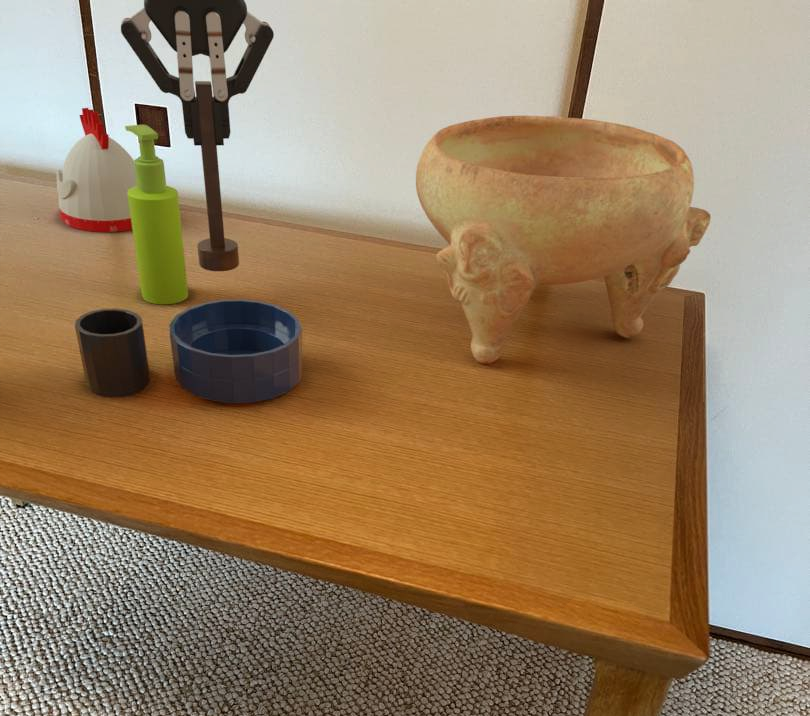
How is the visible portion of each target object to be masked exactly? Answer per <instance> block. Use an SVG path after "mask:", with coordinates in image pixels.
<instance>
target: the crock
mask: <svg viewBox="0 0 810 716" xmlns="http://www.w3.org/2000/svg"><path fill="white" fill-rule="evenodd" d="M74 322H75V323H74V329H75V334H76V340H77V344H78V349H79V354H80V358H81V359H80V360H81V365H82V368H83V369H82V370H83V372H84V378H85V382H86V385H87V388H88V389H89V390H90V391H91V392H92V393H93V394H96V395H98V396H102V397H108V398H109V397H110V398H119V397H128V396H131V395H136V394H137V393H141V392H143V391H144V390H145V389H147V387H149V385H150V384H151V371H150V366H149V359H148V352H147V351H148V350H147V343H146V338H145V337H146V336H145V330H144V322H143V317H141V315H139V314H138V313H137V312H135V311H131V310H129V309H123V308H116V307H115V308H100V309H95V310H91V311H89V312H86V313H83V314H81V315H80V316H79V317H78V318H76V320H75V321H74Z"/></svg>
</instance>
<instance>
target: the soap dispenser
mask: <svg viewBox="0 0 810 716" xmlns="http://www.w3.org/2000/svg"><path fill="white" fill-rule="evenodd" d="M124 129H125V131H126V132H131V133H132V134H134V135H135V136H137V138H138V145H139V154H140V156H138V157H137V158H135V159H133V160H134V165H135V173H136V180H137V186H135V187H133V188H130V189H129V190H128V192H127V194H128V201H129V208H130V215H131V222H132V235H133V243H134V249H135V256H136V263H137V270H138V271H137V272H138V279H139V285H140V292H141V298H142V299H143V300H144V301H146V302H147V303H149V304H154V305H174V304H178V303H182V302H184V301H185V300H186V299H187V298H188V297H189V288H188V287H189V286H188V279H187V268H186V260H185V259H186V258H185V249H184V240H183V230H182V229H183V228H182V221H181V211H180V203H179V202H180V201H179V192H178V190H177V189H176V188H175V187H172V186H170V185H167V178H166V171H165V169H166V168H165V163H164V159H162V158H160V157H159V156H157V155H156V146H155V140H159V134H158V132H157V131H155V130H154V129H153V128H151V126H149V125H147V124H134V125H132V124H131V125H125V126H124Z"/></svg>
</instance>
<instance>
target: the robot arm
mask: <svg viewBox="0 0 810 716" xmlns="http://www.w3.org/2000/svg"><path fill="white" fill-rule="evenodd" d="M247 6H248V5H247V3H246V1H245V0H143V8H142V9H140V10H139V11H137V12H136V13H134V14H133V15H132V16H131V17H125V18H123V20H122V21H121V24H120V34H121V35H122V37H123V38H124V39H125V41H126V42H127V44H128V45H129V47H130V48H131V50H132V51H133V52H134V54H135V55H136V56H137V58H138V60H139V61H140V63H141V64H142V65H143V67H144V68H145V70H146V71H147V72H148V74H149V75H150V77H151V78H152V80H153V82H155V85H156V86H157V87H158V89H159V90H160V91H161V92H162V93H164V94H170V95H174V96H175V97H177V98H178V99H179V101H180V102H181V109H182V115H183V126H184V133H185V136H186V137H187V139H191V140H192V139H193V146H195V147H196V146H201V145H202V142H201V131H200V120H199V110H198V101H197V99H196V90H195V82H194V69H193V68H194V66H193V57H196V56H198V55H203V56H206V57H208V59H209V60H208V61H209V68H210V77H211V85H212V95H213V96H212V97H213V112H214V124H215V135H216V145H217V146H225V142H224V139H226V140H227V139H230V136H231V121H230V107H229V102H230V100H231V98H233V97H234V96H237V95H240V94H241V95H243V94H246V92H247V91H248V89H249V87H250V85H251V83H252V81H253V80H254V77H255V76H256V73H257V71H258V69H259V67H260V65H261V63H262V61H263V59H264V57H265V55H266V54H267V51H268V50H269V48H270V45H271V43H272V42H273V40H274V35H275V33H274V30H273V29H272V27H271V25H270V24H269V23H268V22H267V21H261V20H260V19H258V18H257V17H256V16H254V15H253V14H252V13H250V12H249V11H248V7H247ZM150 22H152V24H153V25H154V26H155V27H156V29H157V30H158V32H159V33H160V34H161V36H162V37H163V38H164V40H165V42H166V43H167V44H168V45H169V46H170V48H171V49H172V50H173V51H174V52H175V53H176V58H177V59H176V60H177V71H178V72H177V73H178V76H176V75H173V74H171V73H170V72H169V71H168V69H167V67H166V66H165V64H164V63H163V62H162V60H161V58H159V56H158V54H157V53H156V51H155V50H154V48H153V47H152V45H151V44H150V41H151V40H152V31H151V29H150ZM242 25H244V27H245V30H244V35H243V36H244V41H245V42H246V44H247V47H246V48H245V51H244V52H243V55H242V57H241V59H240V61H239V63H238V65H237V67H236V69H235V71H234V73H233V75H231V76H229V77H227V72H226V71H227V69H226V62H225V53H226V52H227V51H228V49H229V48H230V46H231V44H232V43H233V41H234V40H235V38H236V36H237V34H238V33H239V31H240V29H241V27H242Z"/></svg>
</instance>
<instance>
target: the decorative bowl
mask: <svg viewBox="0 0 810 716" xmlns="http://www.w3.org/2000/svg"><path fill="white" fill-rule="evenodd" d="M694 188H695V176H694V169H693V164H692V163H691V161H690V158H689V156H688V154H687V153H686V152H685V150H684V149H683V148H682V147H681V146H680V145H678V144H677V143H676V142H674V140H673V141H672V140H670V139H668V138H665V137H664V136H661V135H658V134H656V133H653V132H650V131H646V130H644V129H641V128H637V127H634V126H629V125H625V124H620V123H617V122H609V121H603V120H596V119H587V118H579V117H578V118H577V117H564V116H563V117H562V116H553V115H552V116H551V115H549V116H548V115H545V116H544V115H501V116H493V117H486V118H480V119H473V120H467V121H463V122H459V123H453V124H452V125H448V126H446V127H443V128H441V129H439V130H438V131H437V132H435V134H433V135H432V137H431V138H430V139H429V140H428V142H427V143H426V145H425V146H424V148H423V149H422V151H421V153H420V156H419V158H418V160H417V165H416V171H415V189H416V195H417V197H418V201H419V203H420V207H421V208H422V210H423V212H424V214H425V215H426V217H427V219H428V220H429V222H430V223H431V224H432V226H433V227H434V229H435V230H436V231H437V232H438V234H439V235H440V236H441V237H442V238H443V239H444V240H445V242H446V243H447V244H448V246H446V247H444V248H443V249H441V250H439V251H438V252H437V253H436V255H435V262H436V264H437V265H438V266H439V267H440V268H441V269H443V270H444V271H445V274H446V280H447V284H448V287H449V291H450V294H451V296H452V298H453V299H454V300H455V301H457V302H459V303H460V306H461V308H462V310H463V312H464V315H465V317H466V319H467V323H468V327H469V329H470V332H471V336H472V338H471V341H470V350H471V353H472V356H473V357H474V359H475V360H476V361H477V362H478V363H480V364H485V365H488V364H491V363H493V362H495V361H497V360H498V359H500V356H501V355H502V351H503V349H504V346H505V342H506V340H507V337H508V334H509V332H510V329H511V327H513V324H514V322H515V321H516V319H517V318H518V317H519V314H520V312H521V311H522V310H523V308H524V307H525V306H526V305H527V304H528V302H529V300H530V298H531V296H532V294H533V292H534V290H535V288H536V286H537V285H548V286H553V285H554V286H556V285H557V286H558V285H571V284H577V283H583V282H588V281H593V280H597V279H600V278H603V279H604V282H605V288H606V291H607V296H608V302H609V307H610V313H611V319H612V325H613V327H614V330H615V332H616V333H617V334H618V335H619V336H621V337H623V338H624V339H625V338H626V339H630V338H634V337H636V336H638V335H639V334H640V333H641V331H642V329H643V327H644V320H643V318H642V315H643V314H644V312H645V311H646V310H647V308H648V307H649V305H650V304H651V303H652V302H653V300H654V299H655V298H656V297H657V295H658V294H659V293H660V292H662V291H664V290H665V289H666V288H668V287H669V286H670V284H671V283H672V281H673V280H674V278H675V277H676V276H677V275H678V273H679V270H680V268H681V264H683V263H684V262H685V261H686V260H687V258H688V256H689V254H690V253H691V249H690V248H691V247H696V246H698V245H699V244H700V243H701V240H702V239H703V237H704V235H705V234H706V231H707V229H708V227H709V226H710V223H711V214H710V212H709V211H707V210H705V209H703V208H699V207H693V206H691V204H692V201H693V195H694V190H695V189H694Z"/></svg>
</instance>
